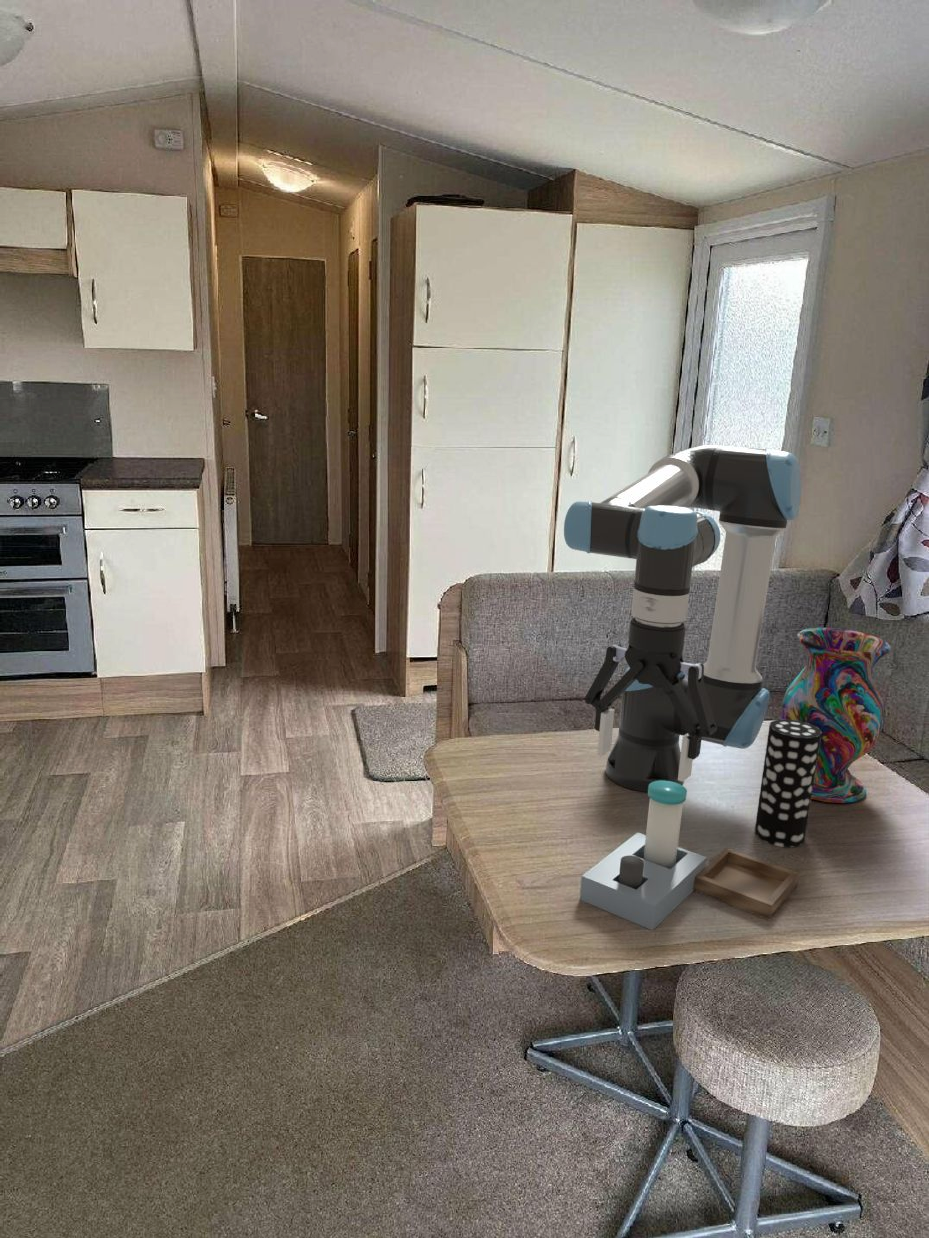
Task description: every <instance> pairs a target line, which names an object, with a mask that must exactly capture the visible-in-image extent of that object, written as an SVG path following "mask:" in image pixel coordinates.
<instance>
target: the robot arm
mask: <svg viewBox="0 0 929 1238" xmlns="http://www.w3.org/2000/svg"><path fill="white" fill-rule="evenodd" d="M801 473H802V472H801V467H800V463H799V460H798V458H797V457H796V456H795V454H793V452H792V453H791V452H788V451H784V450H777V449H772V448H756V447H744V446H743V447H739V446H729V445H728V446H727V445H719V444H704V445H698V446H693V447H689V448H685V449H682V450H679V451H676V452H674V453H671V454H669V455H666V456H664V457H663V458H661V459H659V460H658V461H656V462H655V463H653V464H652V465H651V467H650V468H649V470H648V472H647V473H646V474H645V475H643V476H642V477H639V479H637V480H636V481H634V482H633V483H631V484H629V485H627V486H625V487H624V488H623V489H620V490H619V491H618V492H615V493H614V494H613V495H611V496H609V497H608V498H606V499H604V500H603V501H601V502H593V501H591V500H589V501H580V500H579V501H575V502H573V503H572V504H571V505H570V506H569V508H568V510H567V512H566V513H565V514H566V515H565V517H564V523H563V538H564V541H565V544H566V545H567V546H568V548H570V549H572V550H575V551H580V552H585V553H587V554H596V555H602V556H603V555H604V556H608V557H609V556H610V557H611V556H612V557H617V558H625V559H632V560H635V569H634V571H635V572H634V583H633V592H632V593H633V594H632V601H631V612H630V613H631V615H632V616H633V617H632V618H631V619H630V621H629V632H628V647H623V646H622V644H620V643H618V642H617V643H615V644H613V645H610V646H608V647H607V648H606V652H605V658H604V661H603V663H602V666H601V667H600V669H599V671H598V673H597V674H596V676H595V678H594V681H593V682H592V684H591V686H590V688H589V690H588V691H587V692H586V695H585V697H584V702H585V703H586V705H587V704H588V705H591V706H592V707H593V708H595V718H594V729H595V731H598V732H599V733H598V742H597V743H598V744H597V753H596V755H598V756H601V757H602V756H604V755H607V753H609V752H610V753H609V755H608V757H607V760H606V764H605V765H606V766H605V774H606V776H607V777H608V778H609V780H611V781H612V782H613V783H615V784H617V785H619V786H621V787H623V788H627V789H629V790H630V789H631V790H635V791H638V792H639V791H640V792H647V793H648V787H649V784H650V783H652V782H654V781H671V782H675V783H678V784H680V785H682V786H683V784H684V782H685V781H686V780H687V779H688V778H689V777H691V776H692V771H693V770H692V768H693V761H694V760H696V759H697V758H698V757H699V756H700V754H701V747H702V741H704V742H708V743H713V744H717V745H720V746H721V745H722V746H723V748H724V747H725V748H726V747H730V748H734V749H735V748H736V749H740V750H743V749H748V748H749V747H751V746H752V745H753V744H754V742H756V738H757V737H758V735H759V734H760V731H761V728H762V725H763V723H764V720H765V717H766V714H767V712H768V711H767V710H768V708H769V702H770V697H771V693H770V691H769V690H768V689H766V688H765V687H763V686H762V684H763V676H762V675H761V674H760V672H759V671H758V669H757V667H756V666H757V661H758V653H759V647H760V646H759V645H760V639H761V635H762V634H761V633H762V626H763V621H764V614H765V608H766V603H767V601H766V600H767V595H768V589H769V583H770V577H771V568H772V564H773V557H774V549H775V543H776V539H777V537H778V536H780V535H781V534H782V533H783V532H785V531H786V530H787V526H788V525H787V524H788V521H789V522H790V521H794V520H795V519H797V517H798V515H799V512H800V505H801V498H802V475H801ZM692 508H695V509H701V510H709V511H714V512H715V511H716V512H719V519H718V523H719V524H720V525H721V527H722V529H723V530H724V532H725V537H724V543H723V550H722V556H721V557H722V558H721V562H720V563H721V565H720V571H719V577H718V579H719V580H718V585H717V591H716V592H717V593H716V597H715V598H716V599H715V605H714V606H715V607H714V612H713V613H714V614H713V620H712V621H713V622H712V627H711V628H712V629H711V634H710V635H711V636H710V641H709V648H708V656H707V660H706V661H705V662H704V663H703V662H697V663H691V662H690V663H689V662H685V661H684V659H683V651H684V646H685V645H684V644H685V637H686V628H687V627H686V624H685V623H684V622H685V621H686V620H687V619H688V612H689V611H688V609H689V601H690V600H689V599H690V590H691V581H692V580H691V579H692V573H693V567H696V566H698V565H701V564H704V563H705V562H707V561H708V560H709V559H710V558H711V556H713V555H714V554H715V553H716V552H717V550H718V548H719V546H720V542H721V531H720V528H719V525H718V523H717V521H716V520H715V519H714V518H713V517H712V516H711V515H709V514H708V513H706V512H702V511H698V510H697V511H694V509H692ZM624 659H625V661H626V663H627V665H628V666H627V668H626V670H625V672H624V674H623V675H622V676H621V678H620V679H619V680H618V681H617V682H616V683H615V684H614V685H613V686H612V687H611V688H610V689H609V690H608V691H607V692H606V693H605V694H604V695H603V697H602V694H603V693H604V691H605V689H606V687H607V686H608V684H609V682H610V680H611V678H612V677H613V675H614V673H615V671H616V670H617V667H618V665H619V664H620V662H621V661H623V660H624ZM762 687H763V688H762ZM620 696H621V703H620V711H619V712H620V713H619V723H618V733H617V734H618V735H617V737H616V740H615V741H614V744H613V746H612V741H613V731H614V721H615V720H614V719H615V709H614V708H611V706H612V705H613V703H614V702H615V701H617V699H618V698H619V697H620ZM680 736H682V740H681V747H680Z"/></svg>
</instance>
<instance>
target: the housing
mask: <svg viewBox="0 0 929 1238" xmlns="http://www.w3.org/2000/svg"><path fill="white" fill-rule="evenodd" d="M645 839H646V834H643V833H640V832H638V831H637V832H636V833H635V834H633V836H631V837H630V838H628V839H627V840H626V841H625V842H624V843H622V844H621V845H619V846H618V847H617V848H615V850H613V851H612V852H610V853H609V854H608V855H607V856H605V857H604V858H603V859H601V860H600V861H599V862H598V863H597V864H595V865H594V866H593V867H591V868H590V869H589V870H587V871H586V872H584V873H583V874H582V875H581V879H580V880H581V881H580V893H579V900H580V901H582V902H584V903H588V904H589V905H591V906H593V907H595V908H599V909H601V910H604V911H606V912H608V913H610V914H613V915H615V916H617V917H620V918H622V919H624V920H627V921H628V922H629V921H630V922H632V923H633V924H636V925H638V926H641V927H643V928H645V929H648V930H650V931H654V929H656V928H657V926H658V925H659V924H661V923H662V922H663V920H665V919H666V918H667V917H668V916H669V915H670V913H672V912H673V911H674V910H675V909H676V908H677V907H678V906H679V905H680V904H681V903H682V902H683V901H684V900H685V899H686V898H687V897H688V896H689V895H690V894H692V892H694V890H693V889H694V881H695V876H696V875H697V874H698V873H699V872H700V871H701V870H702V869H703V868H705V867H706V866H707V858H708V857H707V856H704V855H701V854H699V853H695V852H694V851H691V850H689V849H684V848H682V847H680V846H678V849H677V857H676V865H675V866H674V867H672V868H671V869H668V868H666V867H663V866H660V865H658V864H655V863H653V862H650V861H647V860H645V859H643V858H644V849H645ZM629 855H631V856H636V857H639V858H641V859H642V860H643V861H644V868H643V877H642V885H641V886H640V887H639V888H638V889H637V890H636V889H633V888H631V887H628V886H626V885H623V884H621V883H618V882H619V872H620V862H621V858H622V857H624V856H629Z"/></svg>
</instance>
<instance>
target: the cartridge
mask: <svg viewBox="0 0 929 1238" xmlns="http://www.w3.org/2000/svg"><path fill="white" fill-rule="evenodd" d="M687 794H688V789H687V788H686V787H685V786H683V784H682V785H680V784H678V783H675V782H671V781H654V782H652V783H650V784H649V787H648V792H647V795H648V797H649V801H648V802H649V805H648V814H647V821H646V822H647V823H646V831H645V835H646V839H645V849H644V858H643V859H645V860H647V861H650V862H653V863H655V864H658V865H660V866H663V867H666V868H668V869H671V868H672V867H674V866H675V865H676V857H677V849H678V847H679V839H680V829H681V822H682V813H683V806H684V802H686V800H687V796H688V795H687Z"/></svg>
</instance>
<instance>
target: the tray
mask: <svg viewBox="0 0 929 1238" xmlns="http://www.w3.org/2000/svg"><path fill="white" fill-rule="evenodd" d="M799 874H800V873H799V872H798V871H794V870H791V869H788V868H786V867H782V866H779V865H776V864H774V863H770V862H768V861H765V860H763V859H759V858H757V857H754V856H751V855H749V854H745V853H743V852H739V851H736V850H734V849H731V848H728V847H727V846H725V847H724V848H723V849H722V850H721V851H720V852H719V853H718V854H717V855H716V856H715V857H713V858H712V860H710V861H709V862H708V864H706V867H705V868H703V869H702V870H701V871H700V872H699V873H698V874H697V875H696V876H695V881H694V889H693V892H697V893H699V894H702V895H704V896H705V897H706V896H707V897H709V898H712V899H715V900H716V901H720V902H722V903H725V904H728V905H729V906H730V905H731V906H732V907H736V908H738V909H740V910H743V911H745V912H748V913H750V914H753V915H755V916H759V917H761V918H763V919H766V920H771V919H772V917H774V915H775V914H776V913H777V912H778V910H779V909H780V908H781V907H782V905H783V904H784V903H785V902H786V901H787V899H788V898H789V897H790V896H791V895H792V893H793V892H794V890H796V888H797V887H798V880H799Z"/></svg>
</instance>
